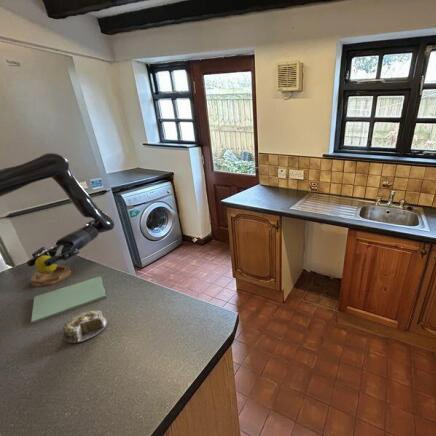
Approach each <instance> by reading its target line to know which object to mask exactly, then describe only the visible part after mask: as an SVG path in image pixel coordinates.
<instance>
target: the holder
mask: <svg viewBox="0 0 436 436" xmlns="http://www.w3.org/2000/svg"><path fill="white" fill-rule="evenodd" d="M71 274H72V271H71V269H70V267H69V265H65V264H57V267H56V269H55V270H54V271H53V272H52V273H51V274H42V273H40V272H38V271H37V272H35V273H34V274H31V276H30V283H31V285H32V286H33V287H47V286H51V285H54V284H57V283H59V282H62V281H63V280H65V279H66V278H68V277H69V276H70V275H71Z"/></svg>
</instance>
